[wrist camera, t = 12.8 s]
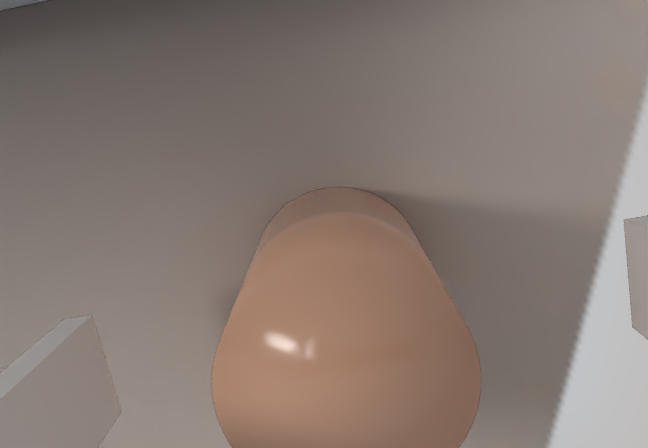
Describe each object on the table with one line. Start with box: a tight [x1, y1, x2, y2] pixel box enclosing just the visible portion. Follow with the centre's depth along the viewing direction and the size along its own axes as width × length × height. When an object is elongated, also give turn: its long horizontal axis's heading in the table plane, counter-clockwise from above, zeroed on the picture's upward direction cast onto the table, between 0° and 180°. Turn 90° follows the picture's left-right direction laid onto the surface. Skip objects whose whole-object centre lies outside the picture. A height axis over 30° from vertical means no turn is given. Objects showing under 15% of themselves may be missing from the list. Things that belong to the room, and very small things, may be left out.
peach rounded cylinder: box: [211, 187, 481, 448], centre depth 14 cm, size 5×5×7 cm
